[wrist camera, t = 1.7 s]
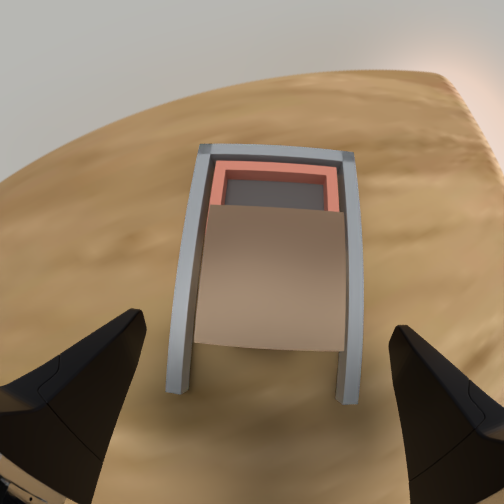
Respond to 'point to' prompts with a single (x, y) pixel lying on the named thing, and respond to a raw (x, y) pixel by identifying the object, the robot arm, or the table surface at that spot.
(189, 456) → the table surface
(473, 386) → the robot arm
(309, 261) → the walnut block
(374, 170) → the table surface
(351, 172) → the u-shaped frame
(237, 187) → the rectangular frame
